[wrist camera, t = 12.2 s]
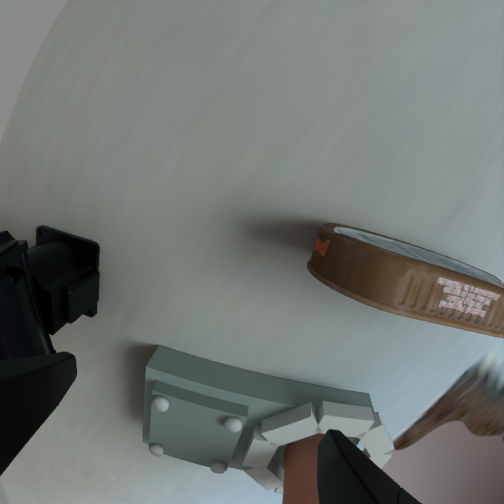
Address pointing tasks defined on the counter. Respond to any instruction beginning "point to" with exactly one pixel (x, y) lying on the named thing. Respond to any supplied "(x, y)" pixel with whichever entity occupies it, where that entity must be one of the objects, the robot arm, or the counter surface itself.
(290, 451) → the oil can
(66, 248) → the robot arm
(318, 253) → the tin
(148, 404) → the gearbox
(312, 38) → the counter surface
